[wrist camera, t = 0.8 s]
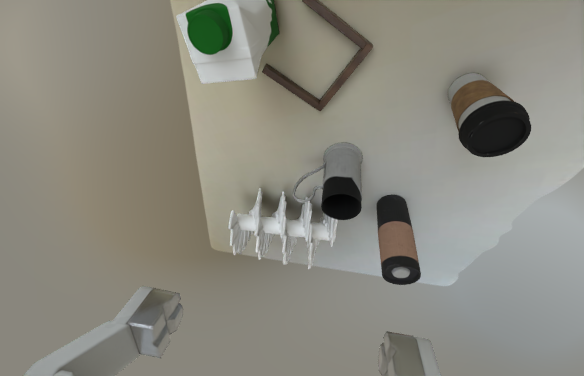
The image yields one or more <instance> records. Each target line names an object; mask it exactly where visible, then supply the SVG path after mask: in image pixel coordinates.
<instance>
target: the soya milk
mask: <svg viewBox="0 0 584 376" xmlns="http://www.w3.org/2000/svg"><path fill="white" fill-rule="evenodd" d="M177 20H178V23H179V26H180V29H181V31H182V34H183V37H184V40H185V42H186V45H187V48H188V50H189V53H190V57H191V60H192V62H193V64H195V67H196V70H197V72H198V75H199V78H200V80H201V83H202V84H205V83H216V82H227V81H238V80H249V79H256V77H257V73H258V68H259V64H260V60H261V56H262V55H263V53H264V52H265V50H266V49H267V47H268V46H269V45H270V44H271V42H272V41H273V40H274V39H275V38H276V37H277V36H278V34H279V29H278V22H277V16H276V10H275V4H274V0H206V1H205V2H203V3H201V4H199V5H197V6H195V7H193V8H191V9H189V10H187V11H185V12H183V13H181V14H179V15H177Z"/></svg>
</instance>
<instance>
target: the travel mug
mask: <svg viewBox="0 0 584 376" xmlns="http://www.w3.org/2000/svg"><path fill="white" fill-rule="evenodd" d="M377 221H378V237H379V247H380V257H381V267H382V276H383V278H384V279H385V280H386V281H387V282H390V283H393V284H399V285H406V284H411V283H414V282H416V281H418V280H419V279H420V277H421V273H420V267H419V262H418V256H417V251H416V246H415V240H414V235H413V229H412V225H411V221H410V217H409V213H408V208H407V204H406V201H405V200H404V199H403V198H402V197H400V196H397V195H388V196H384V197H382V198H381V199H380V200H379V201H378V203H377Z"/></svg>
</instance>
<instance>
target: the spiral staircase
mask: <svg viewBox="0 0 584 376" xmlns="http://www.w3.org/2000/svg"><path fill="white" fill-rule="evenodd" d="M285 198H286V196H284V192H283V191H282V196H281V197H280V202H279V207H278V209H277V211H276V212H275V213H272V217H265V216H261V206H262V191H261V188H259V191H258V197H257V200H256V203H255V206H254V207H253V209H252V210H250V211H249V214H241V213H238V214H237V215H236V214H235V212H234V211H232V210H231V215H230V220H229V225H228V228H229V229H230V230H231V237H230V246H232V245H233V254H234V255H236V252H237V253H239V254H241V253H242V250H244V249H245V247H246V246H247V241H249V240H250V236H251V234H253V233H254V231H255V236H256V237H257V245H256V252H258V258H259V260H260V259H261V255H262V257H265V253H267V252H268V249H269V243H271V242H272V237H273V236H275V234H279V235H281V236H280V238H282V243H283V250H282V253H284V258H283V264H287V262H288V260H289V261H290V254H291V252H293V245H294V246H296V240H297V237H303V238H305V241H307V243H306V248H308V269H310V268H311V267H312V264H313V261H314V254H315V251H316V247H318V244H319V242H320V240H327V241H330V246H332V245H333V241H335V238H336V226H337V222H338V220H337V219H333V218H331V217H329V216H327V215H326V214H325V213H324V212H323V218H321V219H320V223H319V222H318V223H313V222H310V220H311V214H312V204H310V201H308V202H305V204H302V210H301V216H299V218H297V220H289V219H286V217H285V213H286V203H287V202H285ZM307 198H308V197H306V198H305V199H307ZM288 237H289V238H288ZM290 238H291V239H290ZM294 238H295V240H294ZM287 245H288V246H287ZM289 246H290V247H289ZM265 251H266V252H265ZM286 252H287V254H286ZM288 254H289V255H288ZM285 260H286V262H285Z"/></svg>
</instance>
